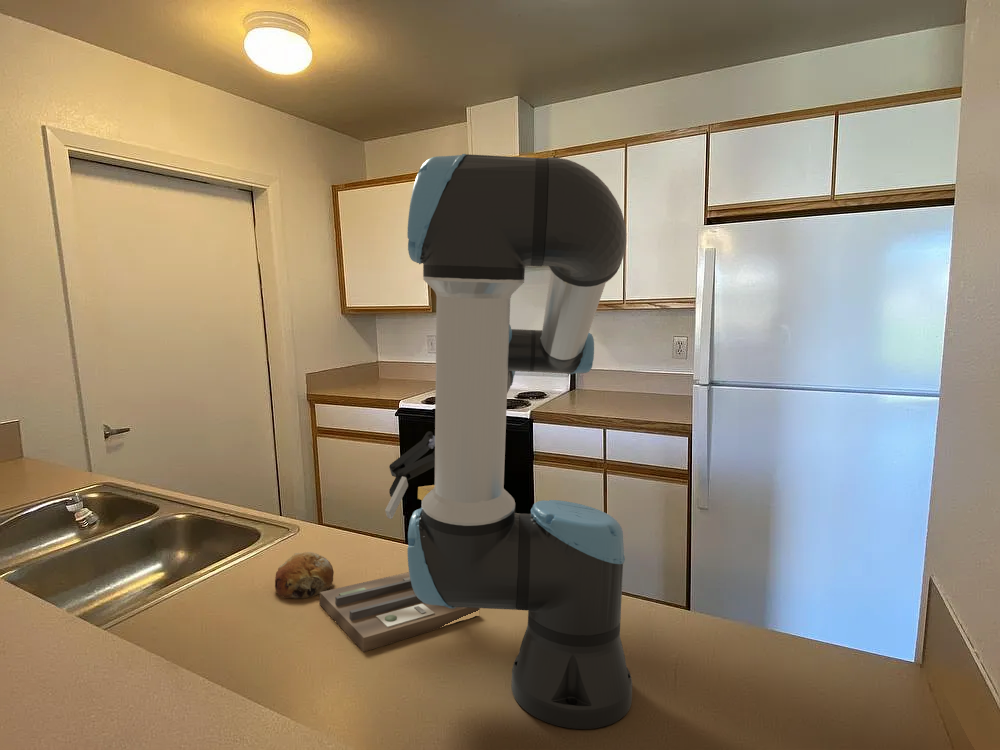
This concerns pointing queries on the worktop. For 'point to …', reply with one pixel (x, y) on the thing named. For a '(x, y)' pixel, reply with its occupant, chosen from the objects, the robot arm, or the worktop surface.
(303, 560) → the bread roll
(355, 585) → the switch board
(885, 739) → the worktop surface
